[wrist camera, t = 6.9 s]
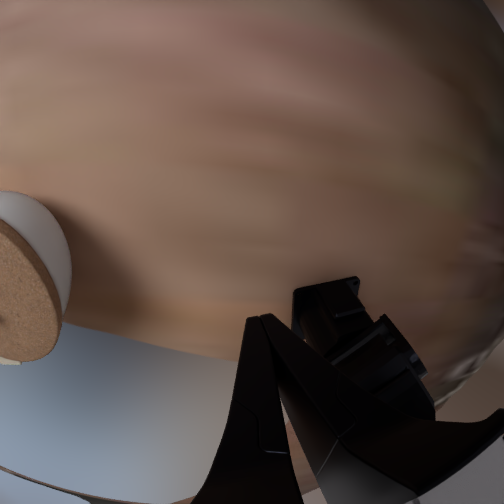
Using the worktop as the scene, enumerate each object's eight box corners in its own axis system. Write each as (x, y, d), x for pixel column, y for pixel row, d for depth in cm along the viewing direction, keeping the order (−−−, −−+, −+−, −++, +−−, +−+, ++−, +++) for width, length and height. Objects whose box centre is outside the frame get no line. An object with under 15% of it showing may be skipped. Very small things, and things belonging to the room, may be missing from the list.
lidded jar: (75, 310, 22) (49, 400, 14) (-21, 265, 17) (-69, 338, 9) (107, 200, 18) (60, 284, 10) (-10, 151, 13) (-93, 201, 5)
